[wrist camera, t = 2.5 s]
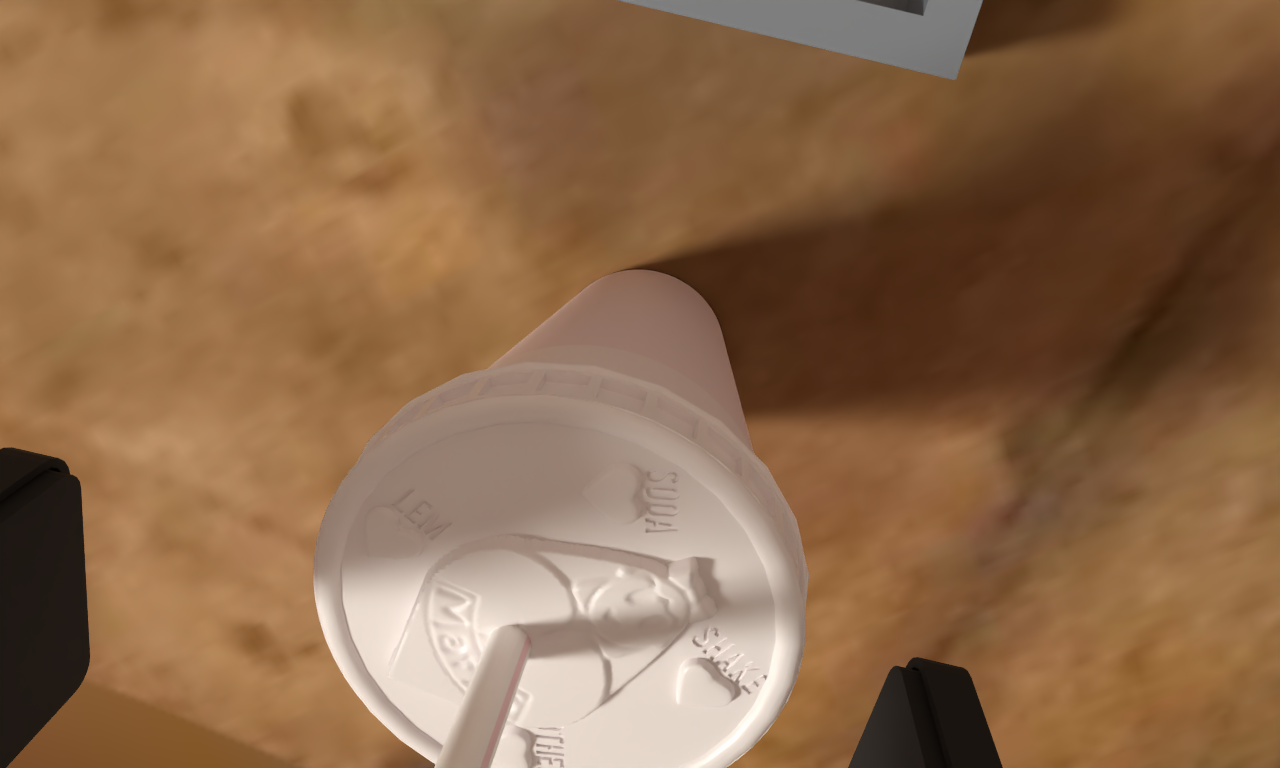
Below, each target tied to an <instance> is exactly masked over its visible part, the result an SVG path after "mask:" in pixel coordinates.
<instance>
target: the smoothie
mask: <svg viewBox="0 0 1280 768" xmlns="http://www.w3.org/2000/svg"><path fill="white" fill-rule="evenodd" d="M808 579H809V574H808V569H807V565H806V560H805V556H804V551H803V546H802V542H801V537H800V533H799V528H798V523H797V519H796V518H795V516H794V514H793V512H792V511H791V509H790V507H789V505H788V503H787V502H786V500H785V498H784V496H783V494H782V493H781V491H780V489H779V487H778V486H777V484H776V482H775V480H774V478H773V477H772V475H771V473H770V471H769V469H768V468H767V466H766V465H765V464H764V463H763V462H762V461H761V460H760V459H759V458H758V457H757V456H756V455H755V454H754V452H753V448H752V444H751V440H750V437H749V433H748V429H747V425H746V421H745V418H744V414H743V410H742V406H741V403H740V399H739V395H738V391H737V388H736V384H735V380H734V376H733V373H732V369H731V365H730V361H729V357H728V354H727V350H726V346H725V342H724V339H723V335H722V331H721V328H720V325H719V322H718V320H717V318H716V316H715V314H714V312H713V310H712V309H711V307H710V306H709V305H708V303H707V302H706V301H705V300H704V299H703V297H702V296H701V295H700V294H699V293H698V292H696V291H695V290H694V289H693V288H692V287H690V286H689V285H687V284H686V283H684V282H683V281H681V280H679V279H677V278H675V277H672V276H670V275H667V274H664V273H661V272H657V271H651V270H625V271H620V272H616V273H612V274H609V275H607V276H604V277H602V278H600V279H598V280H596V281H595V282H593V283H592V284H590V285H589V286H587V287H586V288H585V289H584V290H582V291H581V292H580V293H579V294H578V295H576V296H575V297H574V298H573V299H572V300H570V301H569V302H568V303H567V304H565V305H564V306H563V307H562V308H561V309H559V310H558V311H557V312H556V313H554V314H553V315H552V316H551V317H550V318H548V319H547V320H546V321H545V322H543V323H542V324H541V325H540V326H539V327H537V328H536V329H535V330H534V331H533V332H531V333H530V334H529V335H528V336H526V337H525V338H524V339H523V340H522V341H520V342H519V343H518V344H517V345H515V346H514V347H513V348H512V349H511V350H509V351H508V352H507V353H506V354H504V355H503V356H502V357H501V358H500V359H498V360H497V361H496V362H495V363H494V364H492V365H491V366H490V367H489V368H487V369H485V370H480V371H475V372H470V373H465V374H462V375H460V376H458V377H456V378H454V379H452V380H450V381H448V382H446V383H444V384H443V385H441V386H439V387H437V388H435V389H433V390H431V391H429V392H427V393H425V394H423V395H421V396H419V397H417V398H415V399H413V400H411V401H409V402H408V403H407V404H406V405H405V406H404V407H403V408H402V409H401V410H400V411H399V412H398V413H397V414H396V415H395V416H394V417H393V418H392V419H391V420H389V421H388V422H387V423H386V424H385V425H384V426H383V427H382V428H381V429H380V430H379V431H378V432H377V433H376V434H375V435H374V436H373V437H372V438H371V439H370V440H369V441H368V442H367V444H366V446H365V448H364V450H363V452H362V454H361V456H360V458H359V460H358V462H357V463H356V464H355V465H354V466H353V468H352V469H351V470H350V471H349V473H348V474H347V476H346V477H345V478H344V480H343V481H342V483H341V484H340V485H339V487H338V489H337V490H336V492H335V494H334V496H333V498H332V500H331V501H330V503H329V505H328V508H327V510H326V513H325V515H324V518H323V520H322V523H321V527H320V530H319V534H318V538H317V542H316V549H315V557H314V592H315V601H316V606H317V611H318V615H319V620H320V623H321V627H322V630H323V633H324V636H325V639H326V641H327V644H328V646H329V648H330V650H331V653H332V655H333V657H334V659H335V661H336V663H337V665H338V666H339V668H340V670H341V672H342V674H343V675H344V677H345V679H346V680H347V681H348V683H349V684H350V686H351V687H352V689H353V690H354V692H355V693H356V694H357V696H358V697H359V698H360V699H361V700H362V702H363V703H364V704H365V705H366V707H367V708H368V709H369V711H370V712H371V713H372V714H374V715H375V716H376V717H377V718H378V719H379V720H380V721H381V722H382V723H383V724H384V725H385V726H386V727H387V728H388V729H389V730H390V731H391V732H392V733H393V734H395V735H396V736H397V737H398V738H399V739H400V740H401V741H402V742H404V743H405V744H407V745H408V746H410V747H411V748H413V749H414V750H415V751H417V752H418V753H420V754H421V755H423V756H424V757H425V758H427V759H428V760H430V761H431V762H433V763H434V764H436V765H435V767H434V768H726V767H728V766H729V765H731V764H732V763H733V762H735V761H736V760H738V759H739V758H740V757H741V756H742V755H744V754H745V753H746V752H747V751H748V750H749V749H751V748H752V747H753V746H754V745H755V744H756V743H757V742H758V741H759V740H760V739H761V737H762V736H763V735H764V734H765V733H766V732H767V731H768V730H769V728H770V727H771V726H772V724H773V723H774V722H775V720H776V719H777V718H778V716H779V714H780V713H781V711H782V709H783V708H784V706H785V704H786V702H787V701H788V699H789V697H790V694H791V692H792V690H793V687H794V685H795V683H796V680H797V676H798V673H799V670H800V666H801V663H802V657H803V651H804V645H805V629H806V619H805V608H806V599H807V589H808Z"/></svg>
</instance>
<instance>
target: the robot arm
mask: <svg viewBox="0 0 1280 768" xmlns="http://www.w3.org/2000/svg"><path fill="white" fill-rule="evenodd" d="M89 662H90V648H89V629H88V610H87V591H86V573H85V554H84V535H83V516H82V497H81V486H80V481H79V480H78V478H77V477H75V476H73V475H70V472H69V468H68V466H67V464H66V463H65V461H63V460H61V459H59V458H55V457H51V456H46V455H42V454H38V453H33V452H29V451H25V450H20V449H16V448H2V449H0V768H6V767H7V766H8V765H9V764H10V763H11V762H12V761H13V759H14V758H15V757H16V756H17V755H18V754H19V753H20V752H21V751H22V750H23V749H24V747H25V746H26V745H27V744H28V743H29V742H30V741H31V740H32V739H33V737H35V735H36V734H37V733H38V732H39V731H40V730H41V729H42V728H43V727H44V725H45V724H46V723H47V722H48V721H49V720H50V719H51V718H52V717H53V716H54V715H55V714H56V713H57V711H58V710H59V709H60V708H61V707H62V706H63V705H64V704H65V703H66V701H67V700H68V699H69V698H70V697H71V696H72V695H73V694H74V693H75V692H76V690H77V689H78V688H79V686H80V685H81V683H82V681H83V680H84V677H85V675H86V673H87V670H88V666H89ZM848 768H1003V767H1002V764H1001V761H1000V759H999V756H998V753H997V750H996V747H995V744H994V741H993V739H992V736H991V733H990V730H989V727H988V724H987V721H986V719H985V716H984V713H983V710H982V707H981V704H980V701H979V699H978V696H977V693H976V690H975V687H974V684H973V681H972V678H971V676H970V674H969V673H968V671H967V670H966V669H964V668H962V667H957V666H953V665H949V664H944V663H940V662H936V661H932V660H927V659H923V658H919V657H916V658H912V659H911V660H910V661H909V662H908V664H907V666H906V668H904V667H899V666H894V667H893V668H892V669H891V670H890V672H889V674H888V676H887V678H886V681H885V683H884V685H883V688H882V690H881V692H880V695H879V697H878V699H877V702H876V704H875V706H874V709H873V711H872V713H871V716H870V718H869V720H868V723H867V725H866V727H865V730H864V732H863V734H862V737H861V739H860V741H859V744H858V746H857V748H856V751H855V753H854V755H853V758H852V760H851V762H850V765H849V767H848Z"/></svg>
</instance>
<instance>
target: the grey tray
mask: <svg viewBox="0 0 1280 768" xmlns="http://www.w3.org/2000/svg"><path fill="white" fill-rule="evenodd" d="M619 1H624V2H628V3H632V4H636V5H640V6H645V7H649V8H653V9H657V10H662V11H666V12H670V13H674V14H678V15H683V16H687V17H691V18H695V19H699V20H704V21H708V22H712V23H716V24H720V25H725V26H729V27H733V28H737V29H741V30H746V31H750V32H754V33H758V34H762V35H767V36H771V37H775V38H779V39H784V40H788V41H792V42H796V43H800V44H805V45H809V46H813V47H817V48H821V49H826V50H830V51H834V52H838V53H842V54H847V55H851V56H855V57H859V58H863V59H868V60H872V61H876V62H880V63H884V64H889V65H893V66H897V67H901V68H906V69H910V70H914V71H918V72H922V73H927V74H931V75H935V76H939V77H943V78H948V79H952V80H956V77H957V75H958V72H959V69H960V66H961V63H962V60H963V57H964V54H965V51H966V48H967V45H968V43H969V40H970V37H971V34H972V31H973V28H974V25H975V22H976V19H977V16H978V13H979V11H980V8H981V5H982V2H983V0H619Z"/></svg>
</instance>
